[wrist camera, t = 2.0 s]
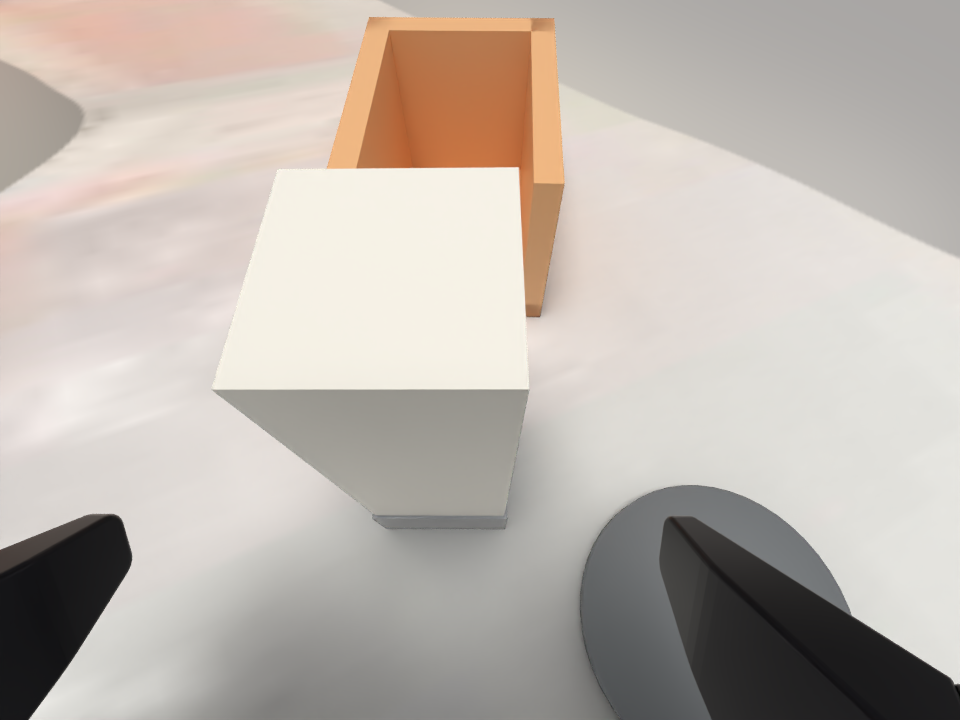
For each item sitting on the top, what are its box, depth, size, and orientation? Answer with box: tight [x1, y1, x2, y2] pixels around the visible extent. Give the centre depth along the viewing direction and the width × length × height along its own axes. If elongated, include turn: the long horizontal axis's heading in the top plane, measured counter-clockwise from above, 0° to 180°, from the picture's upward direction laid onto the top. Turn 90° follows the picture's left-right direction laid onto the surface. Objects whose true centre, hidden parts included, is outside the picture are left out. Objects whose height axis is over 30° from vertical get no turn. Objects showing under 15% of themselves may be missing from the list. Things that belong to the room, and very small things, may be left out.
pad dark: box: [580, 485, 852, 720], centre depth 16 cm, size 9×9×1 cm
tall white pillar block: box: [211, 167, 529, 529], centre depth 13 cm, size 5×5×13 cm
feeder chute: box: [327, 17, 564, 317], centre depth 21 cm, size 10×8×8 cm
